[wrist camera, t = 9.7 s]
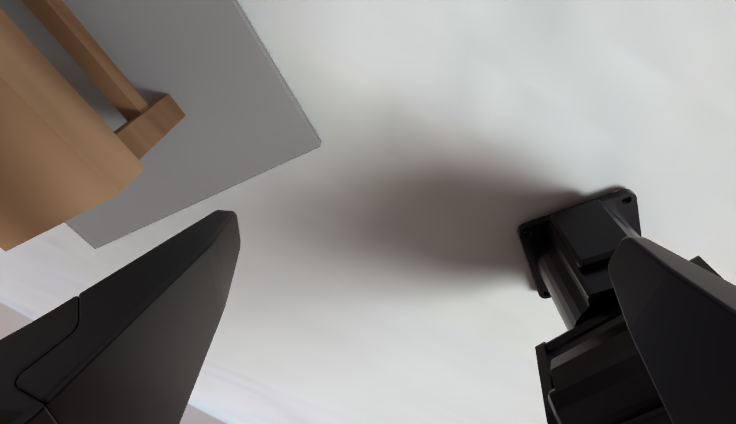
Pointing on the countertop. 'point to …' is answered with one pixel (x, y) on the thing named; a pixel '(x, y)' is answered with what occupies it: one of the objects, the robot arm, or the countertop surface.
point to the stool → (65, 128)
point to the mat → (181, 101)
